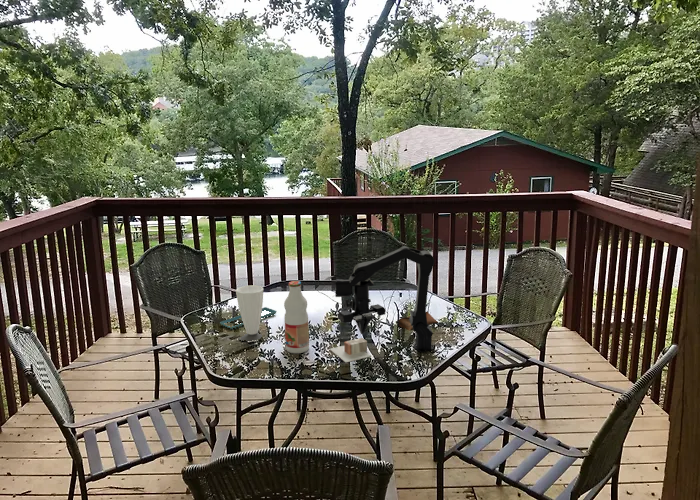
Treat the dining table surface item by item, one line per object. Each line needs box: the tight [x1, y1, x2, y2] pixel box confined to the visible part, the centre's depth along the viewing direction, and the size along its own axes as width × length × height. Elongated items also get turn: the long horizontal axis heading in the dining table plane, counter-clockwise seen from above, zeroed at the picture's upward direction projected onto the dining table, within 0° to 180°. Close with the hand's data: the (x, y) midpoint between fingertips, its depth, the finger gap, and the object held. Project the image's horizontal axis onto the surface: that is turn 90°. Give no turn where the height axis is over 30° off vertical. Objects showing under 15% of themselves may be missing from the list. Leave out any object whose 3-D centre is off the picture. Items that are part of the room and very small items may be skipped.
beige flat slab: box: [329, 345, 372, 364], centre depth 206 cm, size 14×11×1 cm
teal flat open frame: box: [219, 306, 277, 330], centre depth 243 cm, size 26×9×2 cm, turn 136°
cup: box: [235, 284, 264, 342], centre depth 220 cm, size 12×12×22 cm
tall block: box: [343, 337, 368, 355], centre depth 206 cm, size 4×4×8 cm
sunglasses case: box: [397, 310, 439, 331], centre depth 235 cm, size 18×7×7 cm, turn 124°
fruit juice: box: [283, 280, 310, 354], centre depth 207 cm, size 9×9×28 cm
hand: (362, 333), depth 207 cm, fingers closed
